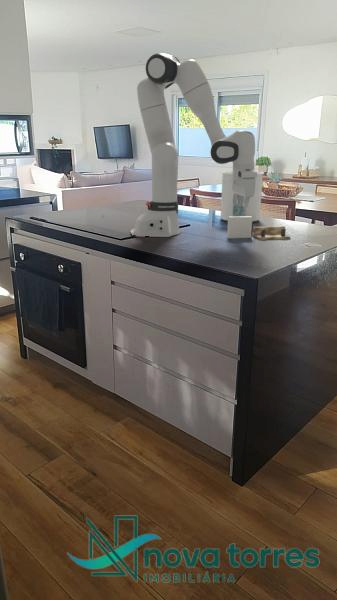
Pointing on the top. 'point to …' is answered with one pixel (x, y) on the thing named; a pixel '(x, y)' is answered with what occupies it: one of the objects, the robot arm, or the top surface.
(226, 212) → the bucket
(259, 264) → the top surface
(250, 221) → the white rectangular block
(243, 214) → the bottle
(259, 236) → the tan pegged board
